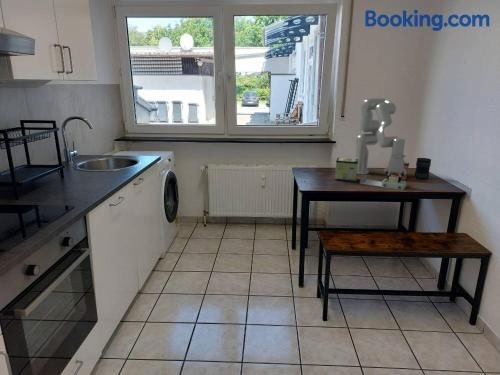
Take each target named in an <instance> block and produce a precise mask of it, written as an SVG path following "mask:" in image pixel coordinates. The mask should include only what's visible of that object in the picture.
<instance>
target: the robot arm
mask: <svg viewBox="0 0 500 375" xmlns="http://www.w3.org/2000/svg"><path fill="white" fill-rule="evenodd" d="M360 107H361V108H360V112H361V113H360V114H361V115H360V123H359V131H360V132H362V133H360V134H358V135H356V137H355V146H356V147H355V148H356V149H355V150H356V151H355V159H358V169H357V175H368V174H369V170H368V162H369V152H370V151H369V149H368V146H375V145H377V144H378V145H379V146H380V147H381V148H385V149H386V148H391V154H390V157H389V160H388V163H387V166H386V167H385V168H383V171H384V172H385V174H386V175H387V178H386V179H387V180H388V181H389V177H390V176H391V173H393V172H394V173H395V174H396V173H399V178H398V183H399V182H400V181H402V180H401V177H402V176H403V175H405V174H406V173H407V174H408V172H407V171H406V170H405V169H404V161H405V158H406V154H405V155H404V153H405V143H406V140H405V139H404V138H401V137H398V136H394V135H393V136H392V135H391V136H385V128H387V127H389V126H391V124H392V123H393V120H392V119H393V118H392V115H394V114H395V113H396V111H397V106H396V104H395V103H394V102H392V101H390V100H389V99H387V98H382V97H375V98H373V97H371V98H366V99H364V100H363V101H362V102H361V106H360ZM374 110H375V113H376V115H377V119H373V118H374V114H373V111H374ZM403 171H404V173H403V174H402V172H403ZM394 173H393V174H394Z"/></svg>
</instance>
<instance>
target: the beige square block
mask: <svg viewBox="0 0 500 375" xmlns="http://www.w3.org/2000/svg"><path fill="white" fill-rule="evenodd" d="M390 175H391V174H390ZM398 178H399V176H395V175H391V176H390V177H389V181H388V183H395V184H398Z"/></svg>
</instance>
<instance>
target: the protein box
mask: <svg viewBox="0 0 500 375" xmlns="http://www.w3.org/2000/svg"><path fill="white" fill-rule="evenodd" d="M357 169H358V159H356V158H347V157H337V159H336V161H335V175H334V176H335V177H334V181H336V182H337V181H339V182H348V183H349V182H351V183H357V179H358V174H357Z"/></svg>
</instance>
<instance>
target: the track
mask: <svg viewBox="0 0 500 375" xmlns="http://www.w3.org/2000/svg"><path fill="white" fill-rule="evenodd" d="M359 184H360V185H366V186H374V187H380V188H381V187H382V188H386V189H392V190H399V191H404V190H405V188H406V187H407V185H405V187H404V188H403V189H401V188H400V189H399V188H394V187H388V186H381V185H382V181H379V180H372V179H371V180H370V179H367V174H363V176H361V177H360V180H359Z"/></svg>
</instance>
